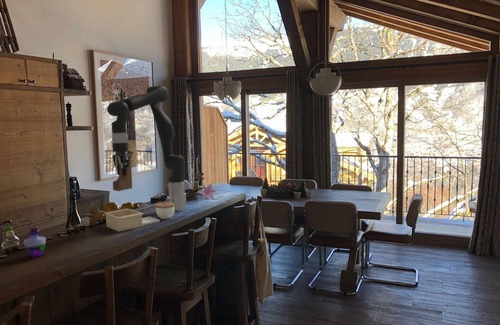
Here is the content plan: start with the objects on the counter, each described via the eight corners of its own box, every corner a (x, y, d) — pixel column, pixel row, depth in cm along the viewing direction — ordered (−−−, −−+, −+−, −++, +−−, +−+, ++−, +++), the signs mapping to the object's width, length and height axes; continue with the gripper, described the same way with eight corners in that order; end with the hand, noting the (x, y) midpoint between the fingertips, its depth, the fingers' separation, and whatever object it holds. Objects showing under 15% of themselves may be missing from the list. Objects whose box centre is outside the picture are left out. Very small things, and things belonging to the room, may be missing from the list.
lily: (195, 200, 275) (196, 189, 270) (202, 190, 285) (203, 180, 279) (210, 206, 273) (212, 195, 267) (217, 196, 282) (219, 185, 277)
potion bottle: (42, 258, 159) (40, 229, 158) (20, 259, 158) (17, 230, 157) (51, 251, 167) (49, 223, 166) (30, 252, 167) (27, 224, 165)
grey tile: (149, 218, 222) (149, 216, 222) (160, 221, 214) (159, 219, 214) (132, 221, 215) (132, 219, 215) (143, 225, 207) (143, 223, 207)
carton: (128, 221, 217) (127, 208, 216) (144, 226, 204) (144, 213, 203) (104, 225, 207) (103, 212, 207) (120, 232, 195) (119, 218, 194)
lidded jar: (151, 219, 220) (151, 202, 219) (163, 214, 230) (163, 198, 229) (167, 220, 216) (166, 203, 215) (179, 216, 225) (178, 200, 224)
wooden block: (119, 191, 198) (117, 155, 196) (112, 190, 201) (111, 155, 199) (132, 188, 206) (131, 153, 204) (126, 187, 208) (124, 153, 206)
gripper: (133, 141, 198) (135, 175, 200) (120, 141, 209) (122, 173, 210) (119, 142, 193) (121, 177, 195) (106, 141, 203) (108, 174, 205)
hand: (121, 175), depth 203 cm, fingers closed on wooden block, 4 cm apart
